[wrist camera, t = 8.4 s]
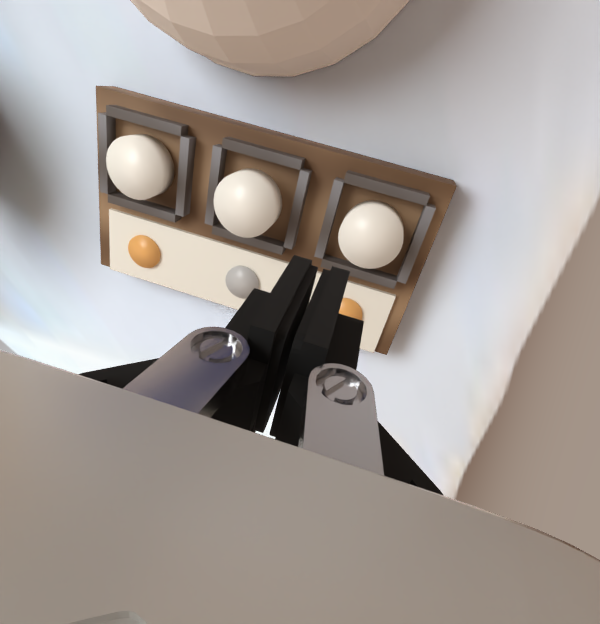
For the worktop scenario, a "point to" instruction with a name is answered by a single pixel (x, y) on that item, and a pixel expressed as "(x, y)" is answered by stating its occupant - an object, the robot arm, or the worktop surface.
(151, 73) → the worktop surface
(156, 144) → the button
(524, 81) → the worktop surface
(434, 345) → the worktop surface
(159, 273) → the pattern card
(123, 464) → the robot arm
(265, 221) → the button middle
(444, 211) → the button board
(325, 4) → the kettle
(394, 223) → the button
